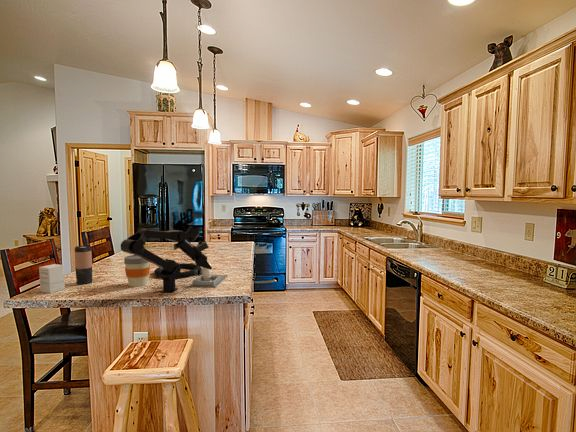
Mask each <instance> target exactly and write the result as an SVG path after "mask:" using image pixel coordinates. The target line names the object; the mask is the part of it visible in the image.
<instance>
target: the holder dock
mask: <svg viewBox="0 0 576 432" xmlns="http://www.w3.org/2000/svg"><path fill="white" fill-rule="evenodd" d="M227 277H228V275H227V274H211V279H212V280H213V281H201V280H203V274H202V275H198V277H196V278H195V279H193V280H192V283H191V284H190V285H189V287H190V288H191V287H194V288H195V287H196V288H216V287H218V286H219V285H220V284H221V283H222V282H223V281H224V280H225V279H227Z"/></svg>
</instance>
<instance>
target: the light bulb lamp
mask: <svg viewBox="0 0 576 432" xmlns="http://www.w3.org/2000/svg"><path fill="white" fill-rule="evenodd" d="M208 263H209V265H210V266H211V265H212V264H211V263H210V262H208ZM211 267H212V266H211ZM202 269H203V274H202V275H203V280H201V281H213V280H212V279H211V275H212V269H211V270H210V269H207V268H204V267H202Z"/></svg>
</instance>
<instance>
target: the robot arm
mask: <svg viewBox="0 0 576 432" xmlns="http://www.w3.org/2000/svg"><path fill="white" fill-rule="evenodd" d="M199 235H201V234H200V231H199V230H198V229H196V228H195V227H194V226H193V225H192V226H191V225H190V226H188V228H187V230H186V231H183V230H179V229H178V230H176V229H172V230H171V229H170V230H165V231H163V230H154V229H153V230H152V229H145V228H141V229H139V230H138V231H137V232H135V233H134V234H131V235H130V236H129V237H128V238H126V239H124V240H122V241H121V243H120V251H122V252H124V253H126V254H130V255H137V256H139V257H141V258H143V259H145V260H147V261H149V263H151V264H152V265H155V266H156V267H157V268H158V267H160V269H161V270H162V271H161V272H160V274H159V277H158V278H159V279H161V280H162V287H163V289H162V290H160V293H167V294H168V293H169V294H170V293H171V294H172V293H174V292H176V291H178V290H179V288H178V287H176V280H178V279H180V278H179V275H180V272H182V271H181V270H182V269H181V266H180V265H178V264H180V262H177V261H176V260H174V259H169V258H165V259H164V258H162V257H160V256H158V255H156V254H155V253H154V252H152V251H150V250H148V249H146V247H145V244H146V243H147V241H148V239H161V240H163V239H164V240H168V241H171V242H176V243H174V244H173V250H175V251H176V250H177V249H179V250H181V251H182V252H183V253H184V254H185V255H186V256H188V257H189V259H191V260H192V261H193V262H194V264H197V265H198V266H200V267H201V268H203V267H204V268H207V269H210V270H211V271H212V268H213V267H212V266H210V265H209V263H210V262H208V256H207V255H206V254H204V253H203V251H204V250H207V249H209V245H208V243H207V241H201V240H199V241H198V242H197V244H196V245H193V244H192V243H194V242H195V241H196V239H197V238H198V237H199ZM169 275H170V276H169Z"/></svg>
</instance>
